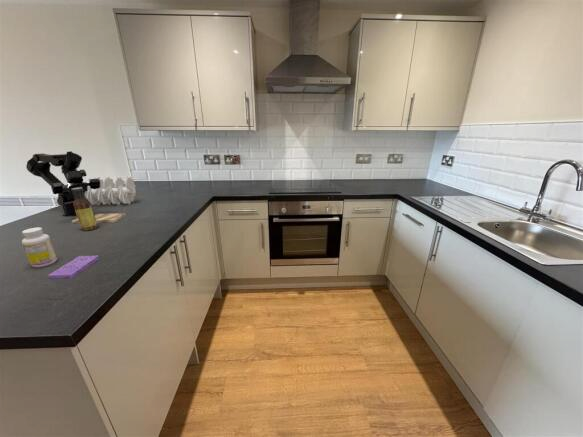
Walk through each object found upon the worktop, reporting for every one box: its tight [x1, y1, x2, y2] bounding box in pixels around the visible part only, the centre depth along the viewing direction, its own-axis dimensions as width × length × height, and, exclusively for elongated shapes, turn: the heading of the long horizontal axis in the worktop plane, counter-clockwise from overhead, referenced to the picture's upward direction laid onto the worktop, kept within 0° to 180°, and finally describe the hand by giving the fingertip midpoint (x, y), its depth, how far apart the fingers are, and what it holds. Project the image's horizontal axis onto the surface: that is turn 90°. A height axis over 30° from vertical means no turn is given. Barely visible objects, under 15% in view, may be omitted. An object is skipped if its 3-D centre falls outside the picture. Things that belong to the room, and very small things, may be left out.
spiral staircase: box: [84, 176, 137, 206], centre depth 152 cm, size 18×18×25 cm
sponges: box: [48, 255, 100, 279], centre depth 82 cm, size 7×13×2 cm, turn 3°
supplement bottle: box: [21, 226, 58, 268], centre depth 83 cm, size 7×7×13 cm
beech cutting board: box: [71, 212, 127, 224], centre depth 128 cm, size 20×11×1 cm, turn 95°
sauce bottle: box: [71, 187, 98, 232], centre depth 112 cm, size 7×6×20 cm
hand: (83, 199), depth 120 cm, fingers closed
